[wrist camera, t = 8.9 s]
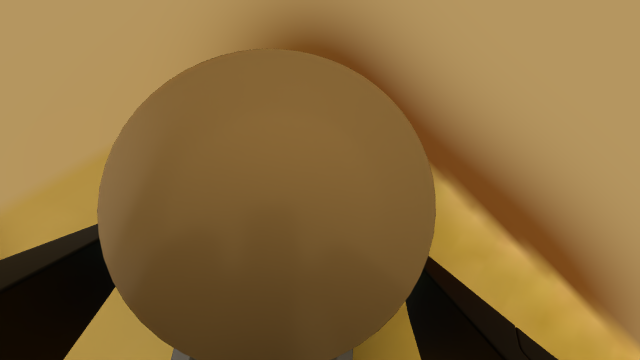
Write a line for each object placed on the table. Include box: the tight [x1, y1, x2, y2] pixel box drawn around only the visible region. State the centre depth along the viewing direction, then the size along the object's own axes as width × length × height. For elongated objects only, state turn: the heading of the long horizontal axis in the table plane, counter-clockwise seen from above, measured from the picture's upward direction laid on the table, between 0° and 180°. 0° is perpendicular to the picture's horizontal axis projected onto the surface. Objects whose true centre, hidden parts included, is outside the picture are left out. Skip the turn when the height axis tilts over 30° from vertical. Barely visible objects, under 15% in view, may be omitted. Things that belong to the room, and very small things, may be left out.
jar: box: [97, 49, 436, 360], centre depth 11 cm, size 6×6×13 cm
